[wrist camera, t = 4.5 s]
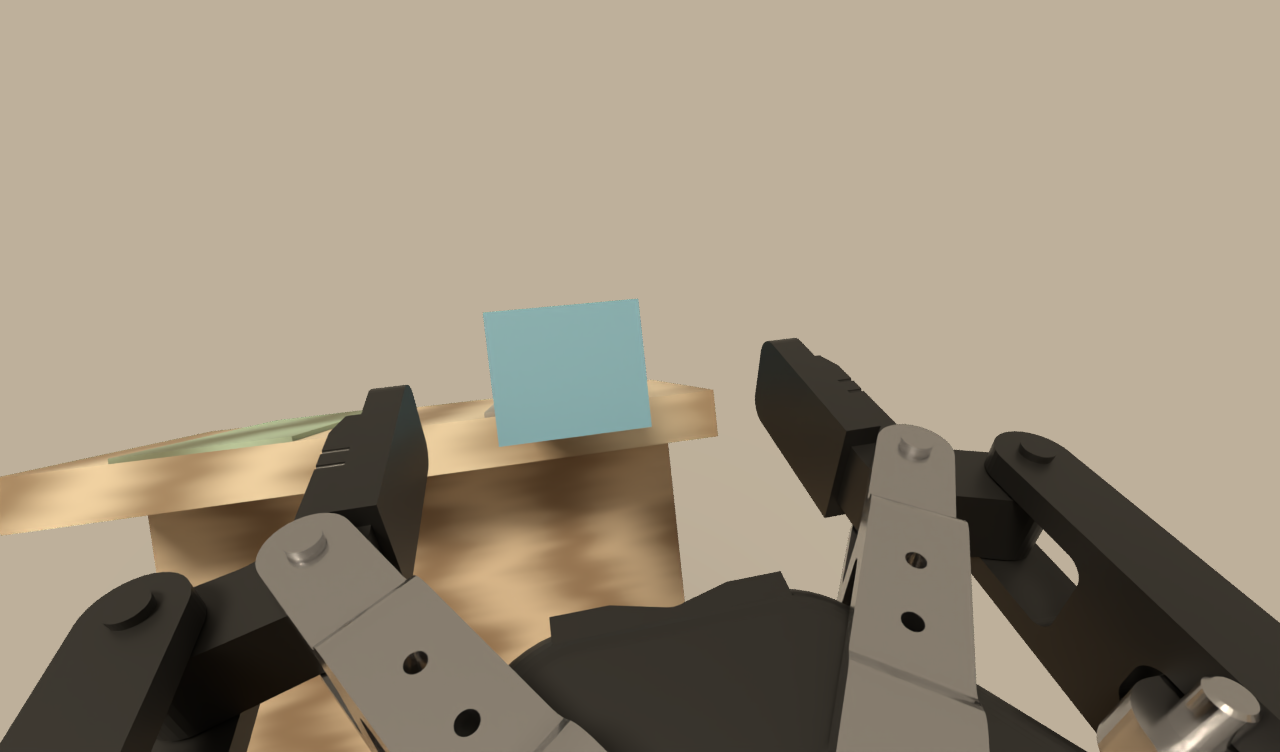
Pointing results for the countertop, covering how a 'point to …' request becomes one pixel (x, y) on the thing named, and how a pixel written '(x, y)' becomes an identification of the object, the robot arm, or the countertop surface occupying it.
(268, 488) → the wavy striped plinth
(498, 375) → the two-tone rectangular bar
